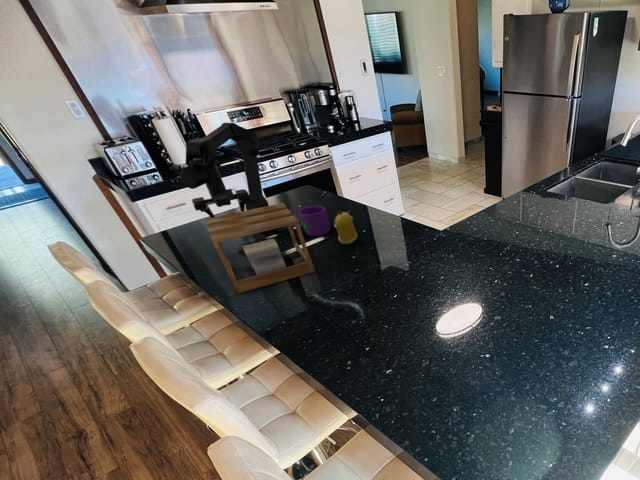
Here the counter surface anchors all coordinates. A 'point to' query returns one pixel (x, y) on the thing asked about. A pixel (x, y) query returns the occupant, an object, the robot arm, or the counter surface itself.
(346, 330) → the counter surface
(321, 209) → the mug
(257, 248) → the grey lidded shoebox
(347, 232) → the yellow rounded lump
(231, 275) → the shoe rack
